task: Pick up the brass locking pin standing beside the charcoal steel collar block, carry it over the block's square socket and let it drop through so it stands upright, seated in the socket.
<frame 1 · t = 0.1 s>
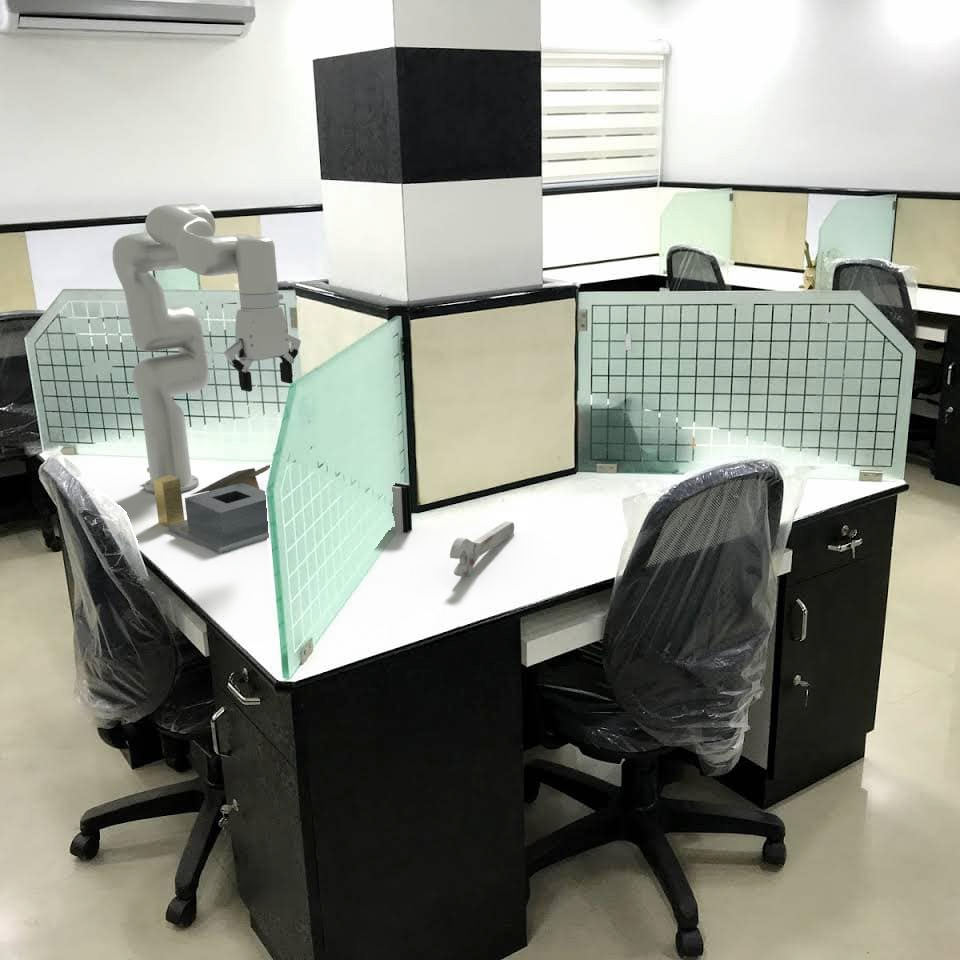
hand: (267, 386, 202), 31 cm above the table, tool pointing down, fingers open, 9 cm apart
hinge: (379, 529, 212), on the table
wrench: (484, 559, 196), on the table
beige piece: (237, 499, 234), on the table
collar block: (234, 528, 213), on the table
brass pin: (171, 522, 218), on the table
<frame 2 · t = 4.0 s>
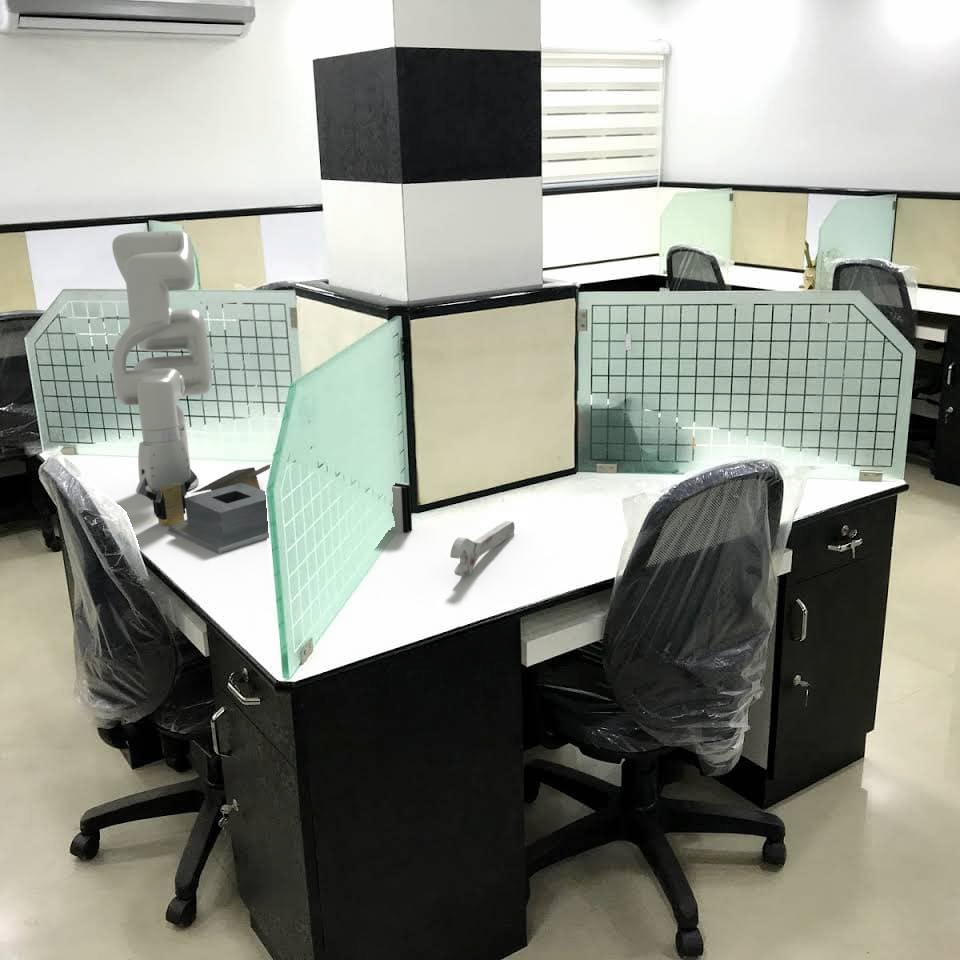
hand: (170, 514, 217), 2 cm above the table, tool pointing down, fingers closed on brass pin, 4 cm apart
brass pin: (171, 522, 218), on the table, touching gripper
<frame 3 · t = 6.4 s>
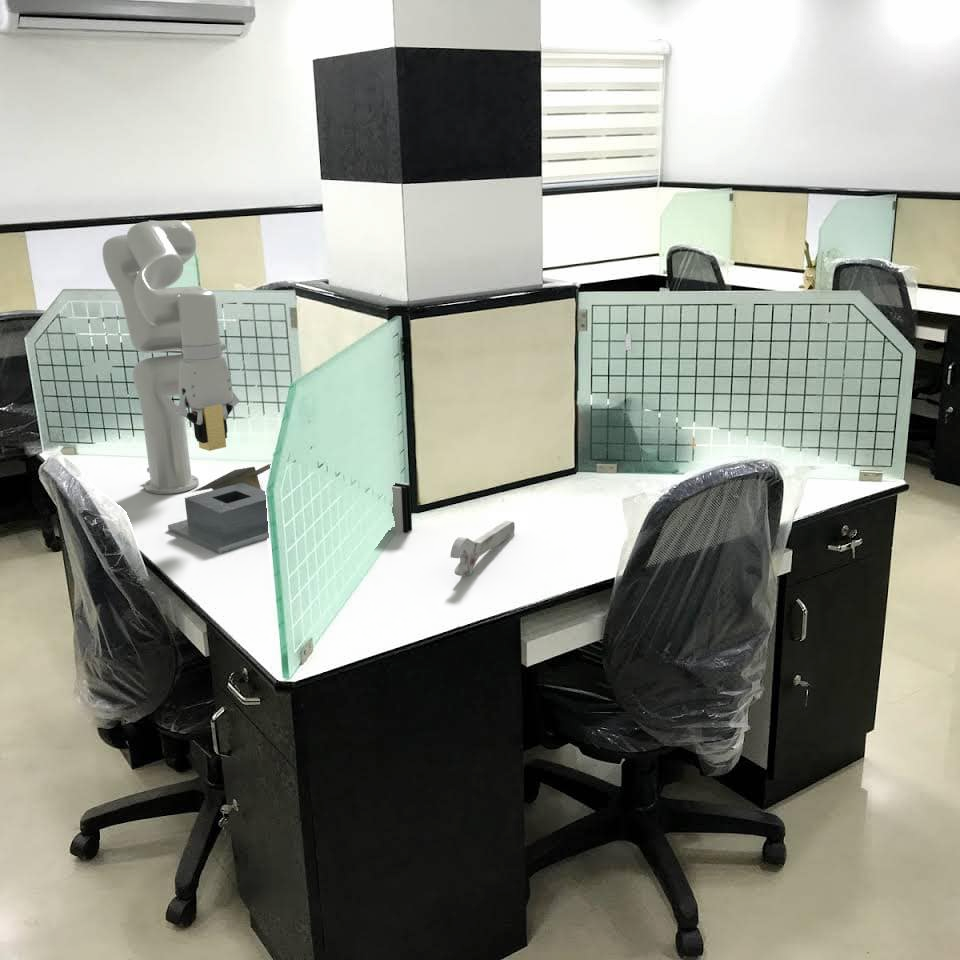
hand: (211, 438, 208), 20 cm above the table, tool pointing down, fingers closed on brass pin, 4 cm apart
brass pin: (212, 447, 208), point 18 cm above the table, touching gripper
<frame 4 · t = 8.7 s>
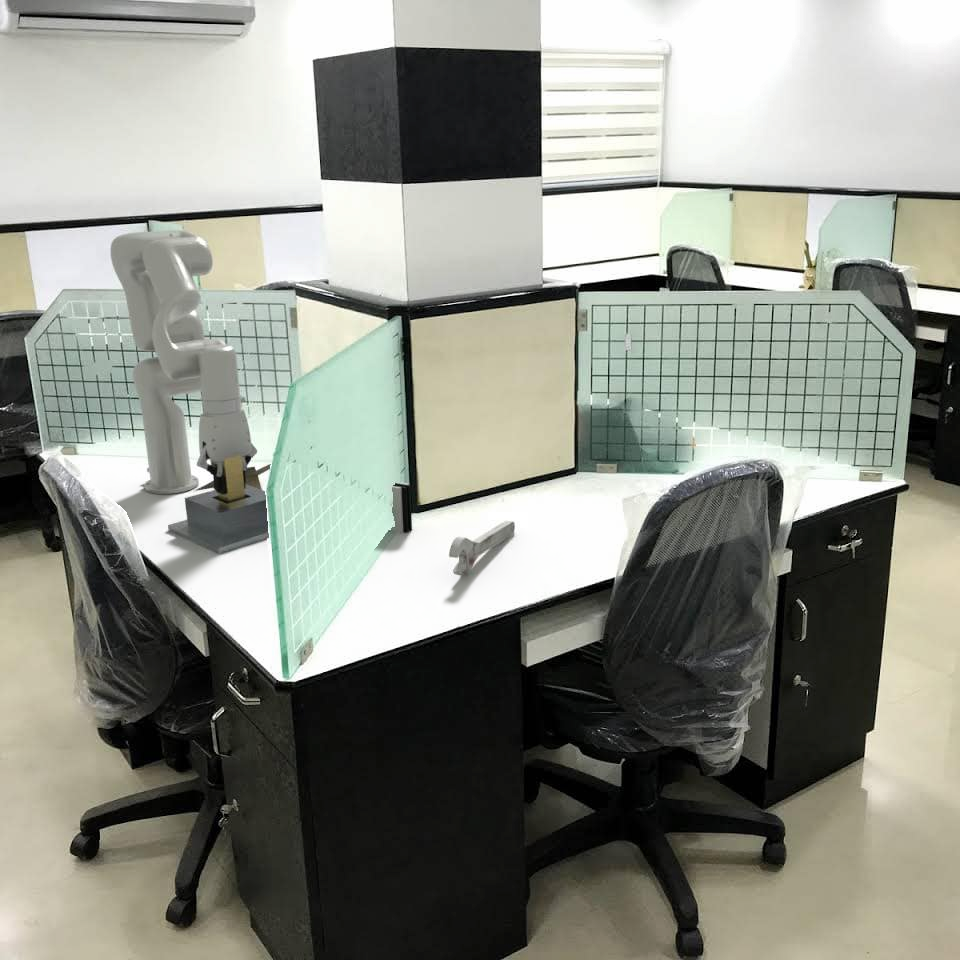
hand: (230, 489, 210), 9 cm above the table, tool pointing down, fingers closed on brass pin, 4 cm apart
brass pin: (231, 497, 211), point 7 cm above the table, touching gripper
when the fingers open (9 cm above the table, at t = 9.0 s): brass pin drops 6 cm, resting on collar block.
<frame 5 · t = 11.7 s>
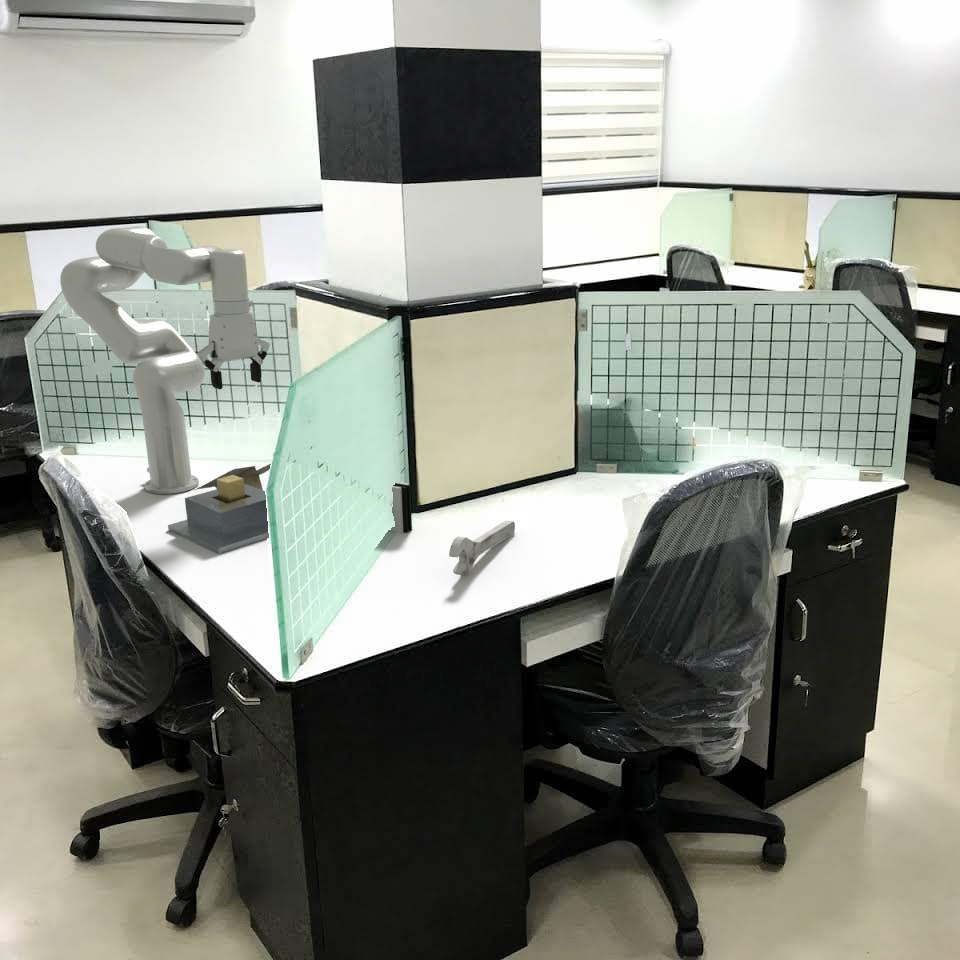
hand: (237, 384, 222), 27 cm above the table, tool pointing down, fingers open, 9 cm apart
brass pin: (234, 523, 213), point 1 cm above the table, touching collar block
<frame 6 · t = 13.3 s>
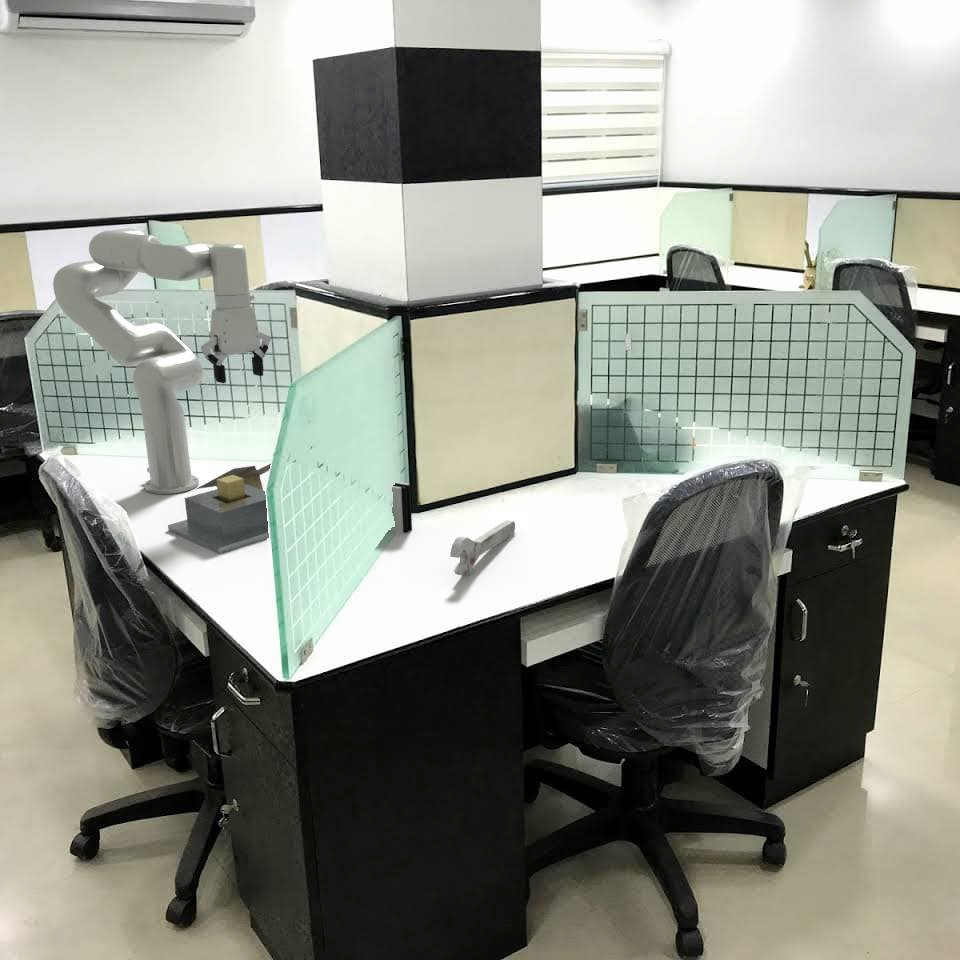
hand: (239, 378, 224), 28 cm above the table, tool pointing down, fingers open, 9 cm apart
at the end: brass pin 0.1 cm off-centre on the collar block, point 1.2 cm above the collar block's base; brass pin tilted 0°; the gripper is holding nothing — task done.
